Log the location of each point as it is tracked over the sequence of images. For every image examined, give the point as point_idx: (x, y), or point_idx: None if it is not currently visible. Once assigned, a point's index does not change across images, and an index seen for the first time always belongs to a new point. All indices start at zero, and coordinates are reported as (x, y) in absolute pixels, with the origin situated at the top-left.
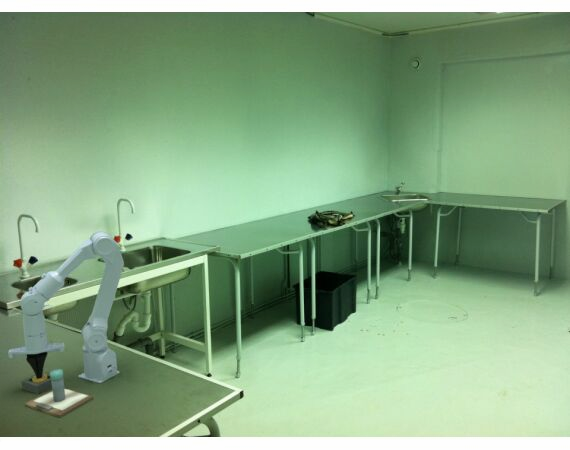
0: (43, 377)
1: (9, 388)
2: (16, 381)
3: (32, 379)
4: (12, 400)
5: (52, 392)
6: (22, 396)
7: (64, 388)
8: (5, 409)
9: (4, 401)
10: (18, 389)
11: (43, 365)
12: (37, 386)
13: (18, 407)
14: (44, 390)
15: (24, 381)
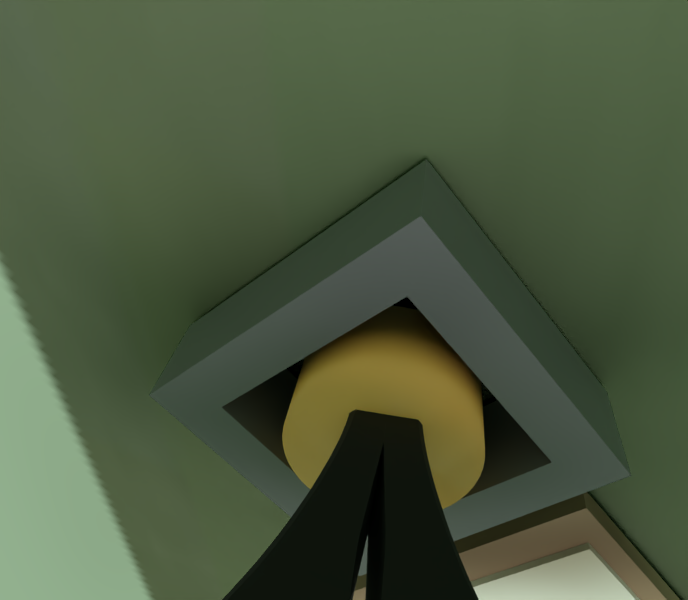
0: None
1: (28, 214)
2: (41, 19)
3: (289, 459)
4: (153, 474)
5: (502, 594)
6: None
7: (629, 570)
8: (141, 565)
9: (88, 459)
10: (146, 289)
11: (445, 553)
12: (361, 571)
13: (232, 582)
14: None
15: (193, 424)
